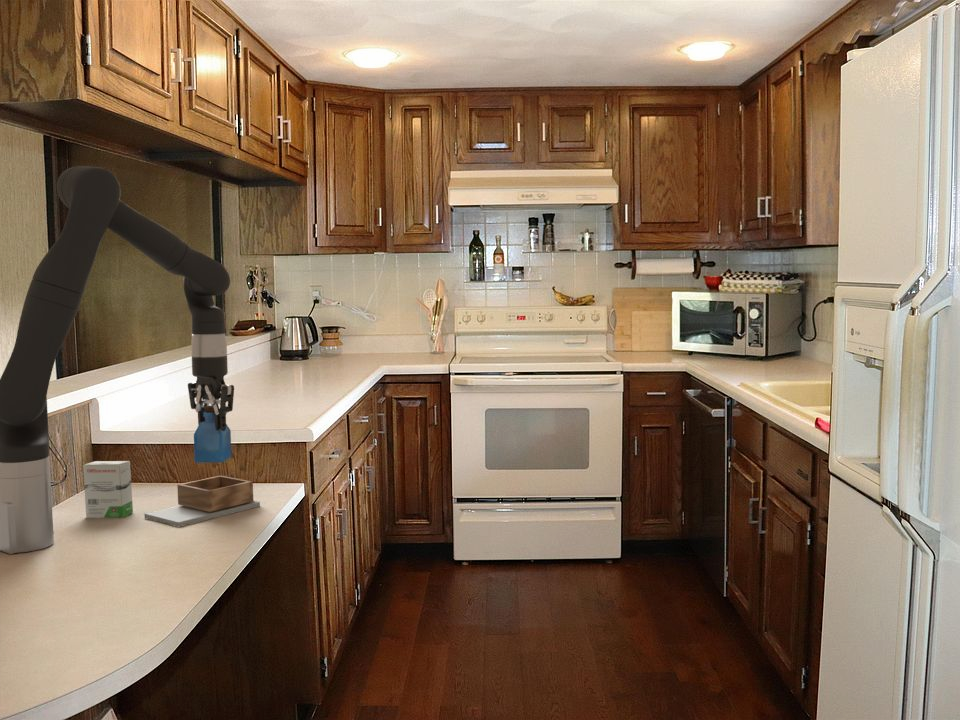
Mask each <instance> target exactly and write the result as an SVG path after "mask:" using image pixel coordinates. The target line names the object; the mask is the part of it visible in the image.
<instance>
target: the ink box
mask: <svg viewBox="0 0 960 720" xmlns="http://www.w3.org/2000/svg"><path fill="white" fill-rule="evenodd" d="M82 466H83V470H82V471H83V482H84V483H83V486H84V500H85V501H84V502H85V503H84V504H85V518H88V519H96V518H98V519H102V518H103V519H104V518H105V519H106V518H107V519H110V518H112V519H115V518H116V519H121V518H122V519H123V518H125V517H128V516H129V515H131V514H132V513H134V511H133V510H134V509H133V508H134V507H133V491H132V490H133V489H132V474H131V461H130V460H114V461H113V460H110V461H108V460H104V461H101V460H95V461H92V462H88V463H85V464H84V465H82Z"/></svg>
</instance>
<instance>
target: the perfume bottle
mask: <svg viewBox="0 0 960 720" xmlns="http://www.w3.org/2000/svg"><path fill="white" fill-rule="evenodd" d="M204 409H205V412H204V417H205V421H203V422H201V423H200V424H199V425H197V428H196V429H195V432H194V434H193V448H194V449H193V451H194V455H193V456H194V464H197V463H199V464H200V463H203V464H204V463H206V464H207V463H213V464H214V463H216V464H217V463H224V462H226V461H227V460H229V459H231V458H232V435H231V432H232V431H231V428H230V427H229V425H228V424H227V423H226V430H225V431H222V430H221V429H219V430H218V431H217V430H216V427H215V415H216V414H215V411H214V407H213V406H212V405H209V406H205V407H204Z"/></svg>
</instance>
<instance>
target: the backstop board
mask: <svg viewBox="0 0 960 720" xmlns="http://www.w3.org/2000/svg"><path fill="white" fill-rule="evenodd" d="M252 487H253V488H254V484H253V482H252ZM258 507H261V502H260V501H257V500H253V501H252V502H248V503H244V504H240V505H236V506H232V507H228V508H224V509H219V510H215V511H211V512H208V511H204V510H199V509H195V508H191V507H187V506H182V505H175V506H172V507H166V508H162V509H159V510H154V511H149V512H146V513H144V519H146V518H148V519H147V520H150V519H152V520H151V521H154V520H156V521H155V522H158V521H160V522H159V523H161V522H164V523H163V524H165V523H168V524H167V525H169V524H171V525H170V526H173V525H175V526H174V527H177V526H181V527H183V526H182V525H185V526H187V525H186V524H189V525H192V524H196V523H201V522H204V521H208V520H212V519H215V518H219V517H223V516H227V515H232V514H235V513H238V512H243V511H246V510H251V509H254V508H258Z"/></svg>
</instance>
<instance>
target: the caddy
mask: <svg viewBox="0 0 960 720" xmlns="http://www.w3.org/2000/svg"><path fill="white" fill-rule="evenodd" d="M252 483H253V481H251V480H246V479H242V478H236V477H232V476H231V477H230V476H226V475H217V476H212V477H208V478H203V479H198V480H197V479H196V480H193V481H189V482H183V483H177V504H178V505H177V506H179V505H182V506H187V507H191V508H195V509H199V510H204V511H208V512H211V511H215V510H219V509H224V508H228V507H232V506H236V505H240V504H244V503H248V502H252V501H254V486H253V487H252Z"/></svg>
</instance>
